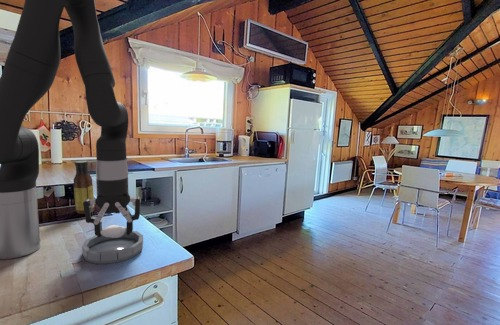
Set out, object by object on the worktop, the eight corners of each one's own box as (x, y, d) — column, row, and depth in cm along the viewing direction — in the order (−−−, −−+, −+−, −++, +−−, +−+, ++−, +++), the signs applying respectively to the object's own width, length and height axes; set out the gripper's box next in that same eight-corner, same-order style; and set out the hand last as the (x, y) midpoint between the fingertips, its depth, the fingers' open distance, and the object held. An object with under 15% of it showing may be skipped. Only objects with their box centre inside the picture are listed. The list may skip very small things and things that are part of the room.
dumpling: (103, 244, 68) (103, 230, 67) (98, 237, 71) (97, 224, 71) (131, 237, 72) (131, 223, 72) (125, 231, 76) (125, 218, 75)
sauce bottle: (91, 208, 105) (89, 159, 102) (97, 212, 101) (95, 161, 98) (72, 211, 100) (69, 160, 97) (78, 216, 96) (75, 163, 93)
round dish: (75, 267, 63) (75, 256, 63) (91, 241, 77) (91, 232, 76) (140, 260, 68) (140, 250, 67) (144, 236, 81) (144, 228, 81)
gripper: (76, 179, 63) (80, 243, 66) (140, 178, 68) (141, 238, 70) (85, 174, 71) (88, 232, 73) (142, 173, 75) (143, 227, 77)
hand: (114, 234), depth 72 cm, fingers closed on dumpling, 6 cm apart
